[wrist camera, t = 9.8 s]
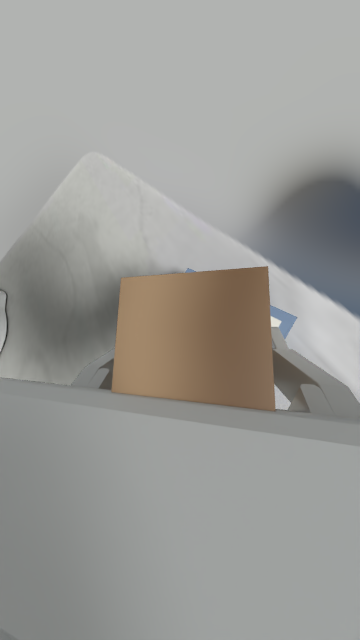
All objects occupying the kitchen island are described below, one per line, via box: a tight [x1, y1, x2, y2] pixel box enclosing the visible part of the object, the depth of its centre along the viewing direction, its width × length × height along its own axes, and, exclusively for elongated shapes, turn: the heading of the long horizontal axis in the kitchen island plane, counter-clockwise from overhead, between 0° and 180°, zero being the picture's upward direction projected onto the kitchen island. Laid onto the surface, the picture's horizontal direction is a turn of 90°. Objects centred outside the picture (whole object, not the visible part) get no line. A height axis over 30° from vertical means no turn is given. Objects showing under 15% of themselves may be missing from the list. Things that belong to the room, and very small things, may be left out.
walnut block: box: [111, 266, 275, 412], centre depth 10 cm, size 5×5×10 cm
